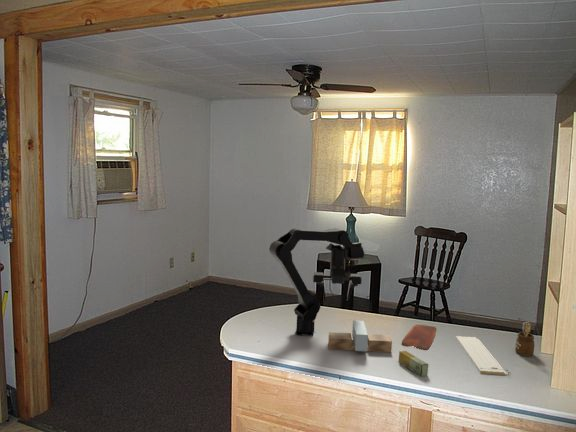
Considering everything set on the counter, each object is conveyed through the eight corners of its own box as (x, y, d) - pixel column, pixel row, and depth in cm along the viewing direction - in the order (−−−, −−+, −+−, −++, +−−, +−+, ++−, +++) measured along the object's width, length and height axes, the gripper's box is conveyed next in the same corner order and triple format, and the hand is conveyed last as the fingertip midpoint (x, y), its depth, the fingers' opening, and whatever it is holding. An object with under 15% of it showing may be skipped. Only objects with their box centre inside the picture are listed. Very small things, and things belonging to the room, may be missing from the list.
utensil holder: (532, 351, 170) (535, 319, 169) (534, 358, 164) (537, 325, 163) (514, 349, 172) (517, 317, 171) (516, 355, 166) (519, 322, 165)
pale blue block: (352, 335, 176) (352, 320, 175) (362, 336, 176) (363, 320, 175) (355, 350, 162) (356, 334, 162) (367, 351, 162) (367, 334, 161)
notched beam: (328, 349, 167) (329, 338, 166) (328, 342, 173) (328, 332, 172) (391, 352, 166) (391, 341, 165) (388, 345, 172) (389, 335, 171)
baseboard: (482, 341, 180) (455, 339, 181) (482, 334, 180) (456, 332, 181) (512, 377, 150) (479, 375, 151) (512, 368, 150) (480, 366, 151)
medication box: (428, 376, 149) (429, 364, 148) (421, 377, 147) (422, 365, 147) (404, 361, 159) (405, 349, 159) (397, 362, 158) (398, 350, 158)
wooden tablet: (427, 352, 168) (428, 348, 168) (400, 346, 173) (400, 342, 173) (439, 329, 192) (440, 325, 192) (415, 324, 196) (415, 320, 196)
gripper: (314, 264, 177) (312, 304, 179) (363, 266, 176) (361, 306, 178) (314, 258, 188) (312, 296, 190) (360, 260, 187) (359, 298, 189)
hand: (336, 299), depth 186 cm, fingers open, 9 cm apart
